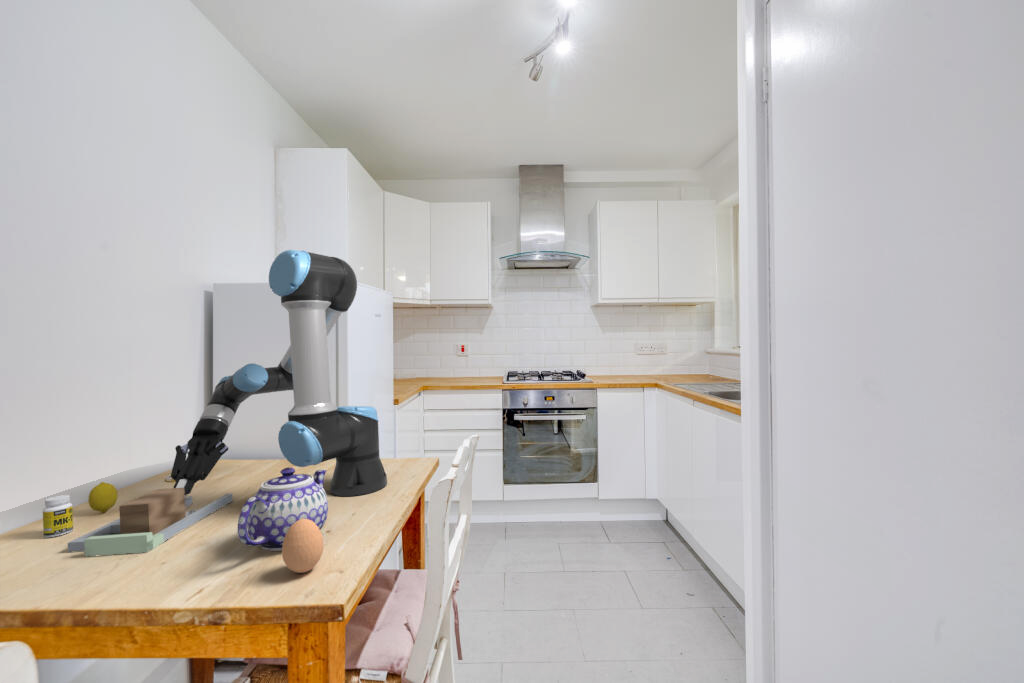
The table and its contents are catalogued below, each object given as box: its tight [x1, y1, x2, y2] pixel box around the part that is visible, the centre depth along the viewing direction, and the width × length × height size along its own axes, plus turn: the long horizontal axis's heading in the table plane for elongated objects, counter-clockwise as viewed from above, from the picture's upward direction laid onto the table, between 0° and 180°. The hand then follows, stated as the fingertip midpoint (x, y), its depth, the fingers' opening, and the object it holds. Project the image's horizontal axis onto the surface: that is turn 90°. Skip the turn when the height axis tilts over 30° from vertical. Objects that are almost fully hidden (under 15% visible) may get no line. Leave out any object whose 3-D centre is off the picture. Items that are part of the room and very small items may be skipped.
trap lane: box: [67, 493, 234, 557], centre depth 103 cm, size 30×18×4 cm, turn 3°
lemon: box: [88, 481, 118, 514], centre depth 114 cm, size 6×6×8 cm
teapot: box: [237, 467, 329, 552], centre depth 91 cm, size 25×15×15 cm, turn 166°
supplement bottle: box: [42, 494, 74, 539], centre depth 101 cm, size 5×5×8 cm
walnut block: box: [118, 487, 187, 535], centre depth 99 cm, size 11×6×8 cm, turn 3°
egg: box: [281, 519, 325, 574], centre depth 77 cm, size 7×7×9 cm
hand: (173, 506), depth 106 cm, fingers closed
